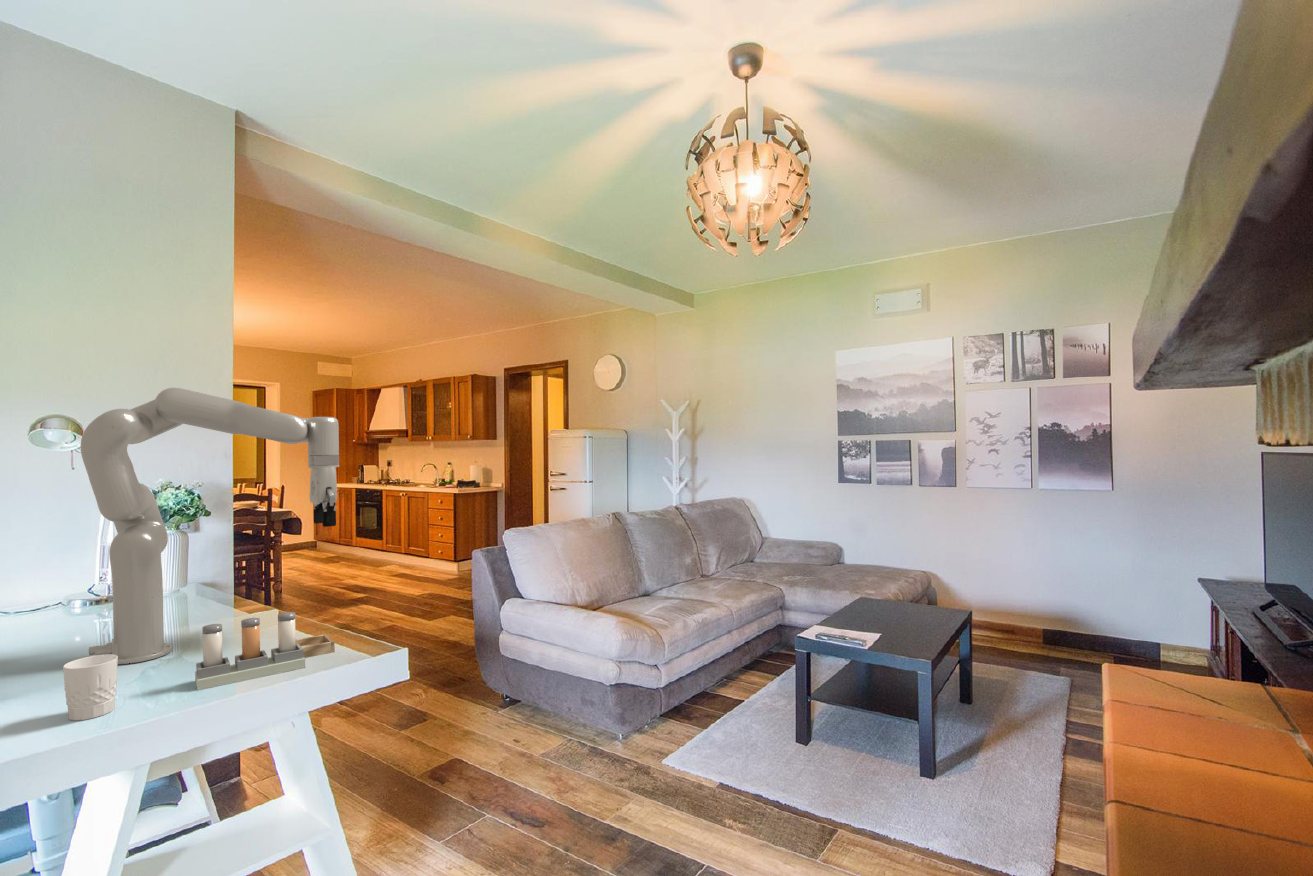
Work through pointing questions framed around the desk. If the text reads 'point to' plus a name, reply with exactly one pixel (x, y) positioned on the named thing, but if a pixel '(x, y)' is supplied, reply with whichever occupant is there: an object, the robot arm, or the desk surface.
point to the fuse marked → (250, 638)
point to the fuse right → (286, 632)
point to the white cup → (90, 686)
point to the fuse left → (212, 645)
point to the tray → (316, 645)
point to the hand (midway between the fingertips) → (324, 524)
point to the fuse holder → (248, 668)
